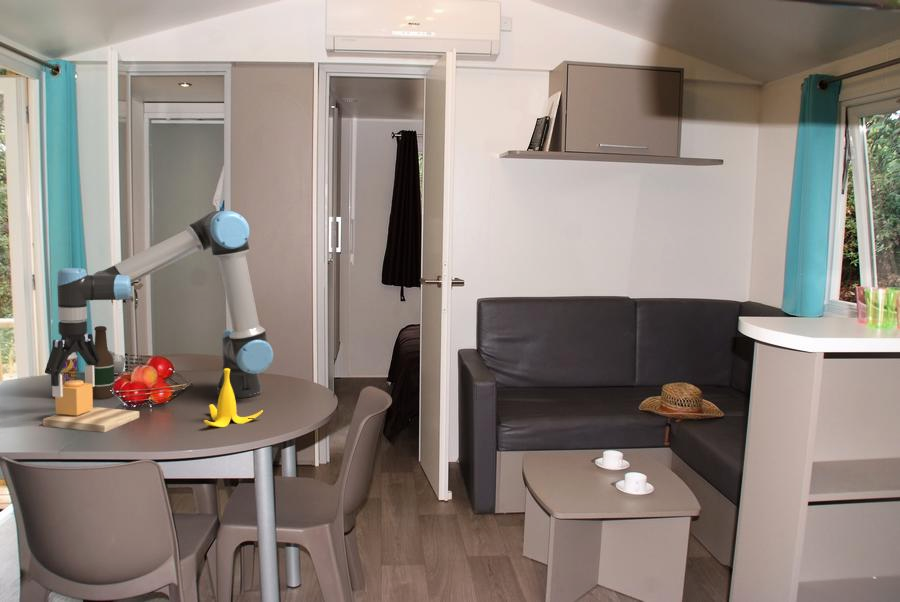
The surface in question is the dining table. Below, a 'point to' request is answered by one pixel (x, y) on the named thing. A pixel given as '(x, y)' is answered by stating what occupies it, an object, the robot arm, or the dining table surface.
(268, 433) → the dining table surface
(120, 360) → the gray wire basket
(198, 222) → the robot arm
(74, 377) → the smoothie
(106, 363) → the beer bottle
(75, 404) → the orange cube with nub
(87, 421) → the board
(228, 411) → the banana peel
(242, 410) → the dining table surface
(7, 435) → the dining table surface
